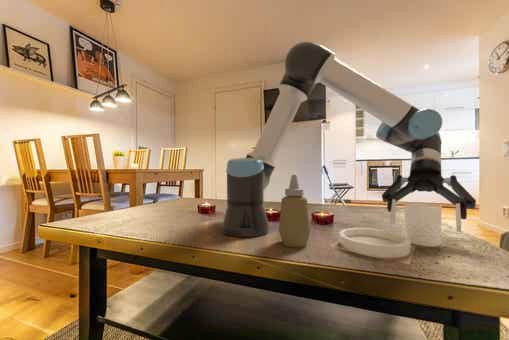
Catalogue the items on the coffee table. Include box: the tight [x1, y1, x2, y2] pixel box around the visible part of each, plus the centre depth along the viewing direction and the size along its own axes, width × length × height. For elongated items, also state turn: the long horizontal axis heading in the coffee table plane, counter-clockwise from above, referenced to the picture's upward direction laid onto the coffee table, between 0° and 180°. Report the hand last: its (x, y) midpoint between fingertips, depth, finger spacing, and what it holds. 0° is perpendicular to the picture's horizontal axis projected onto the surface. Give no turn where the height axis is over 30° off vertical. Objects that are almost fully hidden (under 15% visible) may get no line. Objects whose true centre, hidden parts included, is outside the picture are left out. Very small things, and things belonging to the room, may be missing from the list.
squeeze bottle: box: [278, 174, 311, 248], centre depth 57 cm, size 8×8×18 cm
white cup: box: [403, 202, 443, 247], centre depth 57 cm, size 8×8×10 cm
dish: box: [338, 227, 412, 259], centre depth 54 cm, size 15×15×3 cm
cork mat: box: [329, 239, 417, 266], centre depth 54 cm, size 16×14×1 cm
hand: (422, 224), depth 57 cm, fingers open, 13 cm apart
